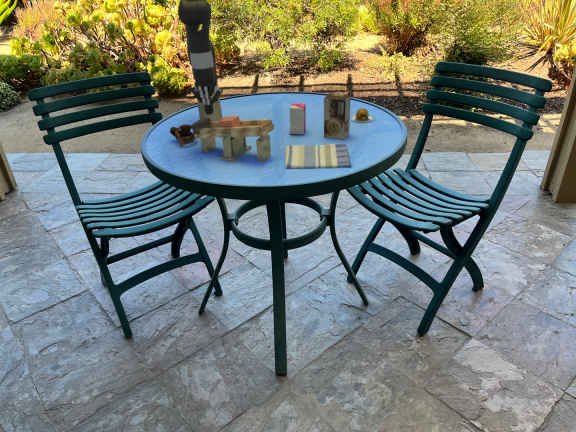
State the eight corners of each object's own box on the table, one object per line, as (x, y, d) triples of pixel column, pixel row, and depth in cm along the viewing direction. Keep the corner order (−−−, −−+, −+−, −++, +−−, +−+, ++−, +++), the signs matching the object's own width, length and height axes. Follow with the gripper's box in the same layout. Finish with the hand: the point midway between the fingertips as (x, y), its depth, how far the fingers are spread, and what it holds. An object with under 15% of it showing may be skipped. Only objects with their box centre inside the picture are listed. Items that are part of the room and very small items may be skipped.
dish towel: (285, 149, 161) (285, 143, 159) (347, 148, 159) (347, 141, 158) (283, 170, 146) (283, 163, 145) (351, 169, 145) (351, 162, 143)
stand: (197, 155, 158) (192, 130, 153) (215, 142, 168) (212, 118, 162) (259, 166, 148) (256, 140, 143) (274, 151, 158) (273, 126, 153)
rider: (220, 131, 153) (217, 121, 151) (227, 127, 156) (225, 116, 155) (234, 131, 150) (231, 120, 148) (241, 126, 154) (238, 116, 152)
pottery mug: (202, 138, 174) (200, 125, 167) (194, 155, 170) (192, 143, 162) (174, 130, 174) (172, 116, 167) (165, 147, 170) (162, 134, 163)
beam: (195, 138, 157) (191, 124, 155) (207, 130, 163) (203, 117, 161) (264, 136, 144) (261, 121, 141) (274, 128, 150) (271, 114, 147)
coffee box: (349, 134, 170) (351, 94, 161) (344, 140, 165) (346, 99, 156) (328, 131, 173) (329, 92, 164) (323, 137, 168) (323, 97, 160)
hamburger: (381, 121, 182) (383, 109, 179) (360, 128, 177) (361, 115, 174) (363, 114, 191) (364, 102, 188) (342, 120, 185) (343, 107, 182)
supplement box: (304, 135, 171) (303, 108, 164) (289, 135, 172) (288, 107, 165) (306, 130, 175) (305, 103, 169) (292, 129, 176) (291, 103, 170)
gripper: (180, 66, 144) (188, 115, 153) (213, 68, 139) (219, 119, 148) (193, 61, 150) (200, 109, 159) (224, 63, 145) (230, 112, 154)
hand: (209, 114), depth 154 cm, fingers closed
